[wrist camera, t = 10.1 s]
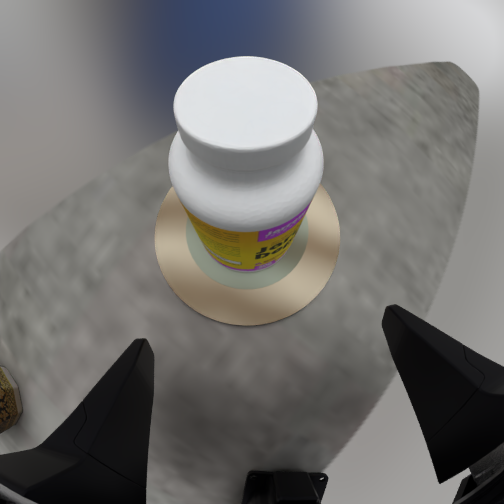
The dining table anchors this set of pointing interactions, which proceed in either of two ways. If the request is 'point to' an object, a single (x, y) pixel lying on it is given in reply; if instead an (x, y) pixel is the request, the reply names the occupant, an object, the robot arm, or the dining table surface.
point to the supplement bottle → (246, 158)
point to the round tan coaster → (248, 283)
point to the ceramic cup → (8, 400)
